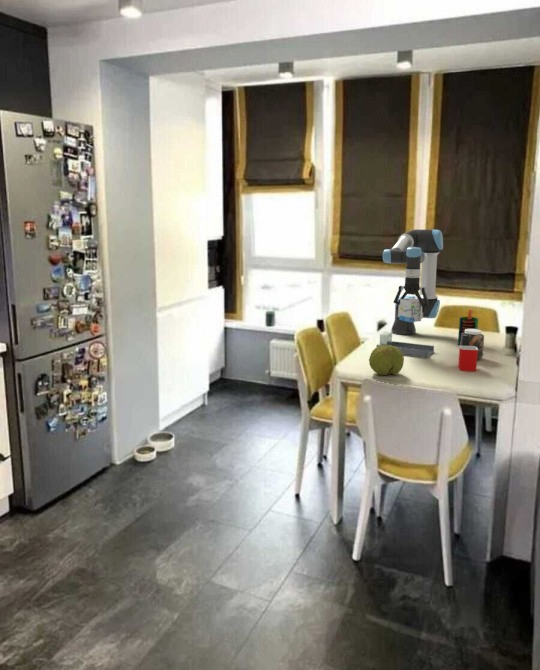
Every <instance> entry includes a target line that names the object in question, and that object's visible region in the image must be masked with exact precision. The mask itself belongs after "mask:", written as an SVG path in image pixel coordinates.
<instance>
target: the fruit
mask: <svg viewBox="0 0 540 670" xmlns="http://www.w3.org/2000/svg"><path fill="white" fill-rule="evenodd" d="M404 356H405V355H403V354H402V352H401V350H400V349H398V348H397V347H394V346H390V345H383V346H382V345H381V346H379V347H377V348H376V347H375V348H374V349H373V350H372V351H371V353H370V356H369V359H368V362H369V366H370V368H371V369H372V370H373V372H374V373H376V374H377V375H379V376H387V375H395V374H398V373H400V372H401V370H402V369H403V367H404V362H405V357H404Z"/></svg>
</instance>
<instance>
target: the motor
mask: <svg viewBox="0 0 540 670" xmlns="http://www.w3.org/2000/svg"><path fill="white" fill-rule="evenodd" d="M473 314H474V311H473V309H469V310H468V312H467V316H461V317H459V323H458V324H459V325H458V336H457V337H458V339H457V345H459V346H460V341H461V334H462V333H464V332H465V329H478V328H479V318H478V317H474V316H473ZM478 330H479V329H478Z"/></svg>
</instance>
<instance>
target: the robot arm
mask: <svg viewBox="0 0 540 670" xmlns="http://www.w3.org/2000/svg"><path fill="white" fill-rule="evenodd" d="M443 249H444V237H443V233H442V231H441V230H439V229H435V228H434V229H415V228H414V229H411V230H408V231H406V232H404V233H402V234H401V235H400V236H399V237H398V239H397V241H396V243H395V244H394V245H393V247H391V249H390V248H389V249H384V250H383V251H382V261H383V263H385V264H402V265H403V264H405V278H404V285H399V286H398V291H397V293H396V295H395V298H394V300H393V303H394V308H395V309H394V321H393V324H392V327H391V331H390V332H392V334H394V335H401V336H410V335H411V336H413V335H415V334H416V332H417V329H416V325H415V322H406V321H402V320H399V316H400V299H406V298H416V299H418V300H419V301H420V303H421V305H422V306H421V311H420V319H421V320H422V319H436V318H437V316H438V313H439V310H440V305H441V300H440V299H438V296H437V295H436V285H437V282H436V281H437V266H438V265H437V263H438V255H439V254H440V253H441V250H443ZM420 277H421V278H420ZM420 280H421V281H420ZM420 283H421V284H420ZM402 291H404V293H403V294H402V295H401V293H402ZM419 291H420V293H419Z"/></svg>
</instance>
